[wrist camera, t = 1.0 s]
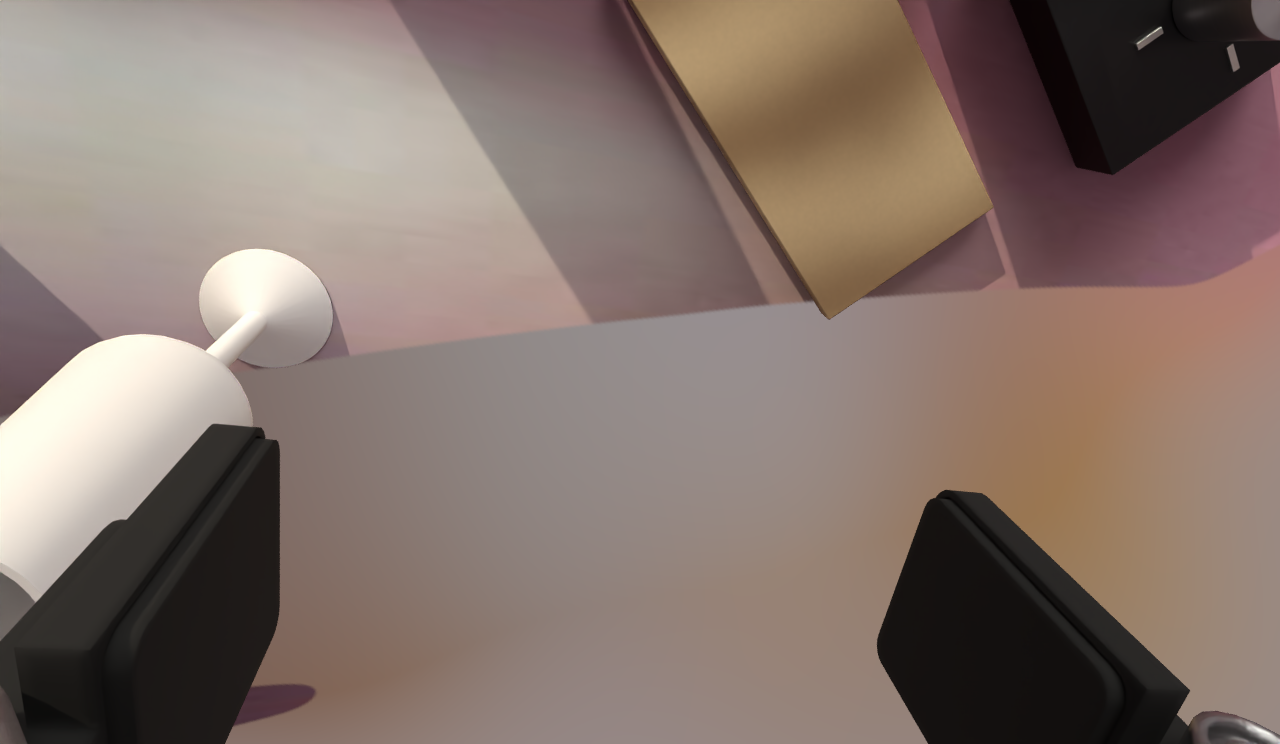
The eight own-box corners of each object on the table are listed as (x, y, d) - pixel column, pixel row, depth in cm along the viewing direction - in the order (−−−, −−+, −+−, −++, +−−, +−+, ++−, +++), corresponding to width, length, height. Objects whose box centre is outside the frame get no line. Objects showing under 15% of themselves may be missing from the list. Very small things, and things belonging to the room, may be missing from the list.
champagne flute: (326, 378, 42) (103, 738, 20) (195, 355, 40) (-204, 717, 18) (340, 264, 39) (105, 528, 17) (201, 235, 38) (-247, 484, 16)
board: (605, -35, 36) (608, -38, 34) (799, -187, 34) (808, -194, 33) (821, 313, 44) (829, 320, 43) (982, 203, 43) (994, 207, 42)
